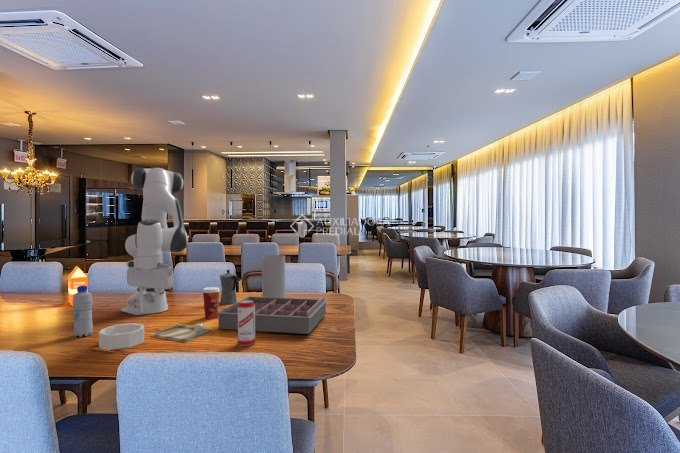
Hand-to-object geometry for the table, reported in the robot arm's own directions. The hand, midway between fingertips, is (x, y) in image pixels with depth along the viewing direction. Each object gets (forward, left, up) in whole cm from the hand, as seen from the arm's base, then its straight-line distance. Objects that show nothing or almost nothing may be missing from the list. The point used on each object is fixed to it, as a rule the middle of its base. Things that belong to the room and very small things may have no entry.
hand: (150, 299), depth 143 cm
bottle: (-30, -6, -16) cm, 34 cm away
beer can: (+36, +10, -16) cm, 41 cm away
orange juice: (-88, +30, -16) cm, 94 cm away
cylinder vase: (+8, +74, -16) cm, 77 cm away
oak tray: (+6, +9, -16) cm, 19 cm away
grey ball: (0, 0, -2) cm, 2 cm away
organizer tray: (+32, +37, -16) cm, 52 cm away
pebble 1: (-7, -7, -14) cm, 17 cm away
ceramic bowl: (-7, -7, -16) cm, 19 cm away
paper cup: (0, +33, -16) cm, 37 cm away
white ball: (+12, +12, -15) cm, 23 cm away
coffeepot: (-12, +61, -16) cm, 65 cm away
